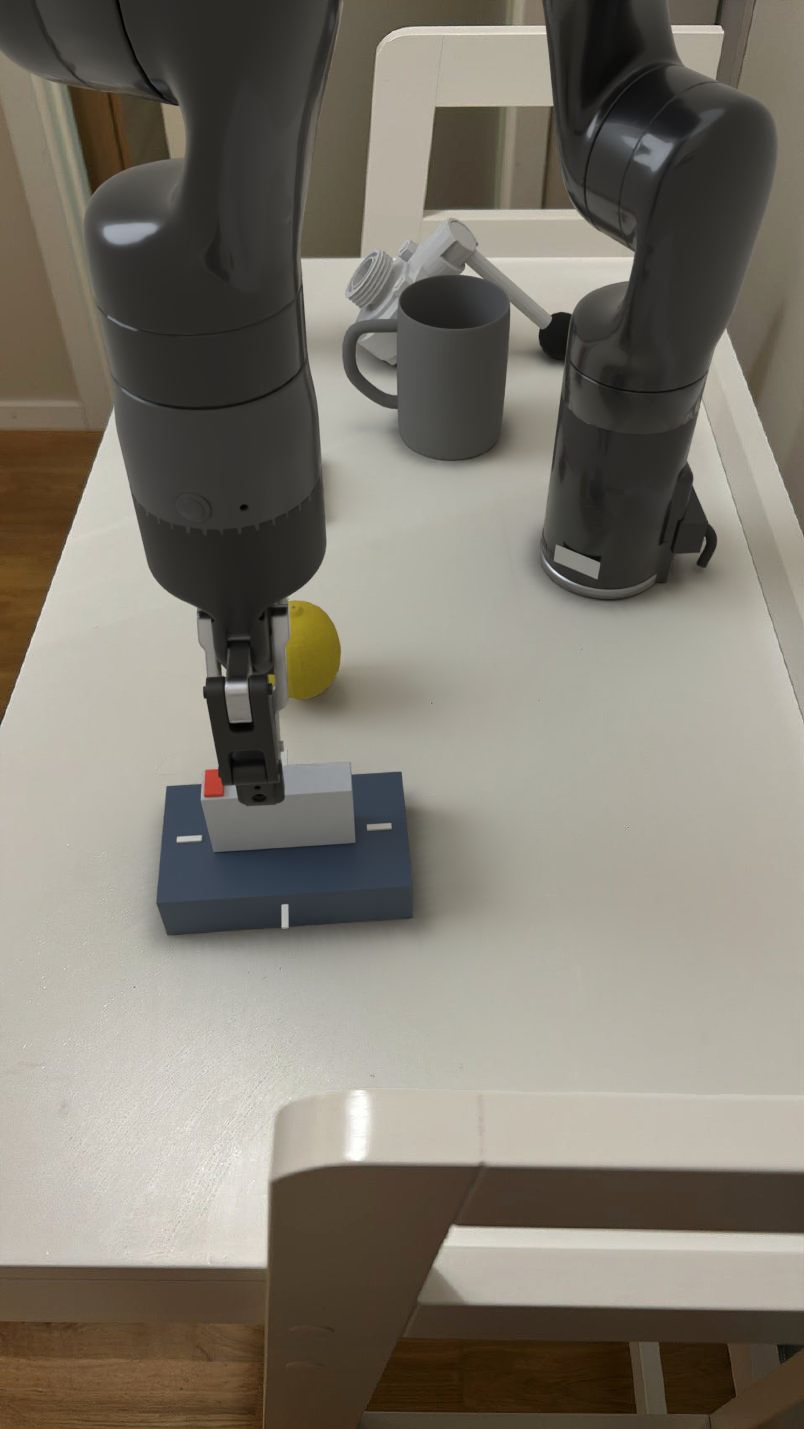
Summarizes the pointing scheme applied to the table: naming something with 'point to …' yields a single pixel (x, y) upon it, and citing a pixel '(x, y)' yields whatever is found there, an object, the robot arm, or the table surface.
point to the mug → (444, 364)
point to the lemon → (310, 651)
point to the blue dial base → (286, 868)
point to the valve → (438, 255)
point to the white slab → (283, 811)
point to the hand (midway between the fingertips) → (264, 730)
